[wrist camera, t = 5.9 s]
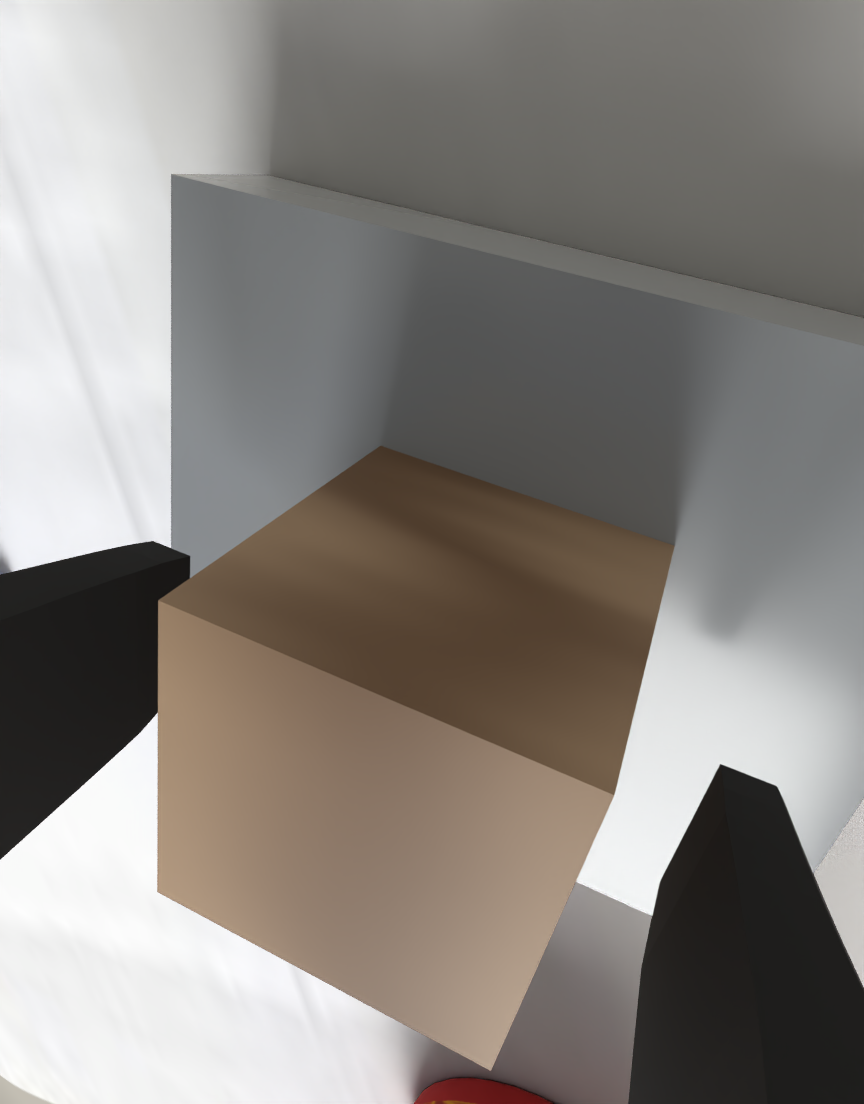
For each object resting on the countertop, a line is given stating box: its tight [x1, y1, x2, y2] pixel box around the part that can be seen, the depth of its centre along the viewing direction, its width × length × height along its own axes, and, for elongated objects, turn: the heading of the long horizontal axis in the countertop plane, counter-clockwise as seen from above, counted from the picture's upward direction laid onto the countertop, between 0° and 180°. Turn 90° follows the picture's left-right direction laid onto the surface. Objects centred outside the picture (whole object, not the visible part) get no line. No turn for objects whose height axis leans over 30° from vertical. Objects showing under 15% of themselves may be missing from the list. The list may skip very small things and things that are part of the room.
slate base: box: [171, 174, 864, 916], centre depth 13 cm, size 12×10×2 cm
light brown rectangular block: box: [157, 446, 675, 1071], centre depth 10 cm, size 4×4×5 cm
